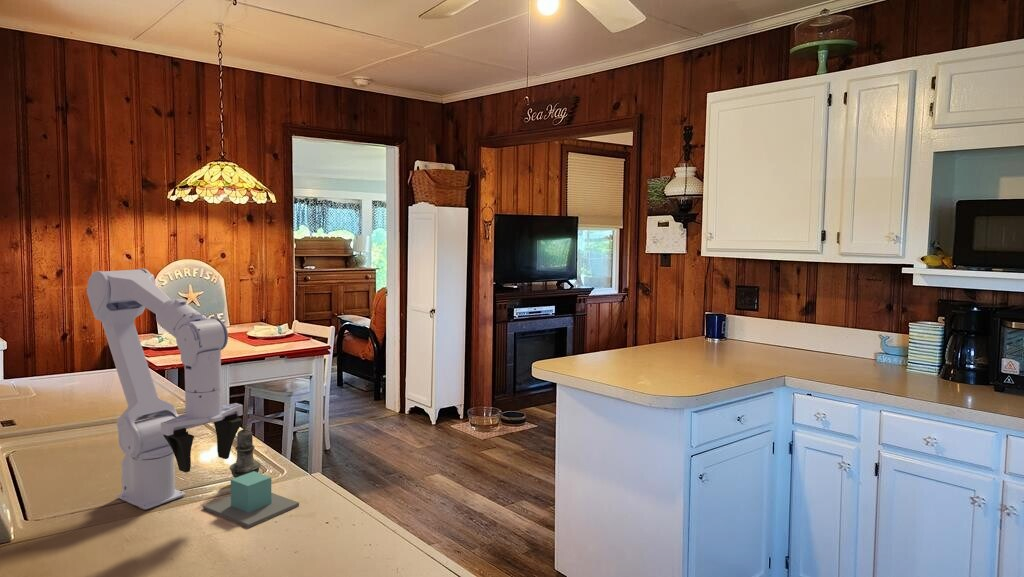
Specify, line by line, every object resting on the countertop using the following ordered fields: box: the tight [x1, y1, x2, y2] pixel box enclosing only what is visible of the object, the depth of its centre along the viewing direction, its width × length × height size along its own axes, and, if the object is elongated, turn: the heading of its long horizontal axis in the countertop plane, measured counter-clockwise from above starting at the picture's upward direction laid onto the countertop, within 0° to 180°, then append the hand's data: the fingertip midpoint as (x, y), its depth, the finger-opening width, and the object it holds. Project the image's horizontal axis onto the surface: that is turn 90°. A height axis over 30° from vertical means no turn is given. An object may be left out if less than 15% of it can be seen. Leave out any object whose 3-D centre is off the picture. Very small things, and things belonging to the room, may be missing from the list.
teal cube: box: [230, 471, 272, 513], centre depth 124 cm, size 5×5×5 cm
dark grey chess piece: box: [228, 424, 262, 479], centre depth 135 cm, size 6×6×12 cm
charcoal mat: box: [202, 492, 300, 529], centre depth 125 cm, size 13×11×1 cm
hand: (204, 464), depth 118 cm, fingers open, 7 cm apart
